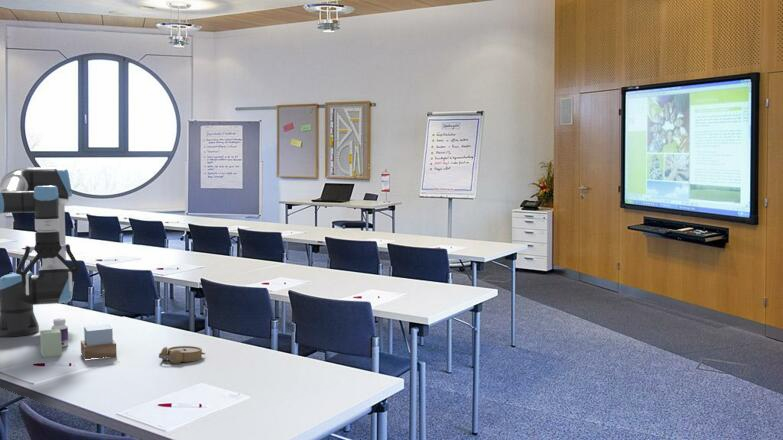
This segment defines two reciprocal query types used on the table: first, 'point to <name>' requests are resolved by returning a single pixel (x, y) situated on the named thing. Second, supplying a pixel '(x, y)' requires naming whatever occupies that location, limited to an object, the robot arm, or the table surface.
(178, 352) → the alarm clock
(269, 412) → the table surface
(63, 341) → the pill bottle
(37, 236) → the robot arm
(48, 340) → the green block
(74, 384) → the table surface
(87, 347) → the tower base
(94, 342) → the tower top
